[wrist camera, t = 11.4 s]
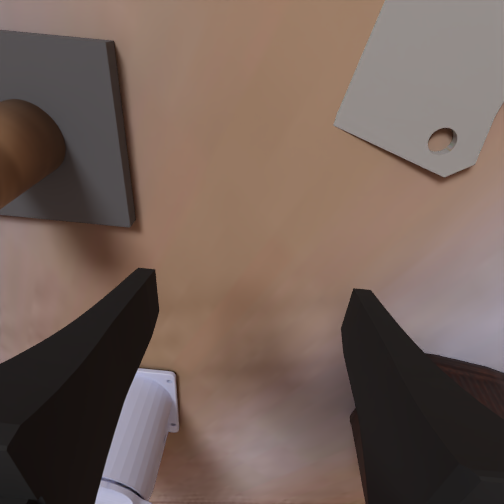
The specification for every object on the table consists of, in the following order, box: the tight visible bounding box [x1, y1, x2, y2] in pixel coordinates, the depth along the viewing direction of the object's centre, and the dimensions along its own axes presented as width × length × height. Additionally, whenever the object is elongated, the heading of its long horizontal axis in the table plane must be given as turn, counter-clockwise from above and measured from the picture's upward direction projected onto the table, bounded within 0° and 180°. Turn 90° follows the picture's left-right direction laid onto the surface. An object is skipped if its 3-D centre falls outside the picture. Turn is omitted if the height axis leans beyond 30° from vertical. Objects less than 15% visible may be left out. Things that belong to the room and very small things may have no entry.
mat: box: [0, 30, 136, 227], centre depth 20 cm, size 10×10×1 cm
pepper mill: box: [350, 353, 504, 504], centre depth 23 cm, size 16×11×18 cm
